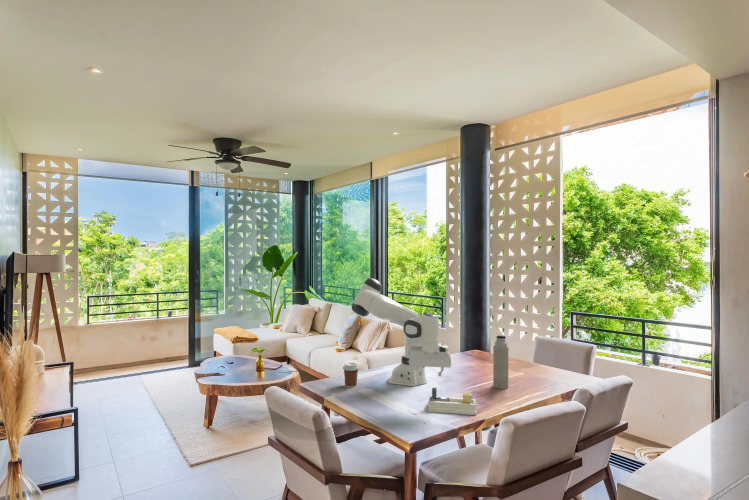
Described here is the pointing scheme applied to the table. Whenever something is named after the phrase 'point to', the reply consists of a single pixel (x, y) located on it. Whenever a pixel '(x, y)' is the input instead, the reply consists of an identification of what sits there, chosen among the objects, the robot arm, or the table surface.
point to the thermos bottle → (500, 363)
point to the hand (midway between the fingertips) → (429, 375)
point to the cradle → (453, 406)
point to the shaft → (434, 398)
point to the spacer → (467, 397)
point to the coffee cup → (350, 374)
